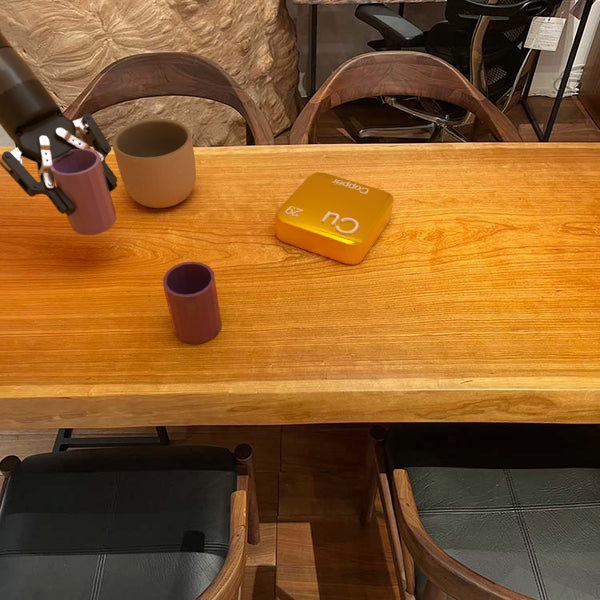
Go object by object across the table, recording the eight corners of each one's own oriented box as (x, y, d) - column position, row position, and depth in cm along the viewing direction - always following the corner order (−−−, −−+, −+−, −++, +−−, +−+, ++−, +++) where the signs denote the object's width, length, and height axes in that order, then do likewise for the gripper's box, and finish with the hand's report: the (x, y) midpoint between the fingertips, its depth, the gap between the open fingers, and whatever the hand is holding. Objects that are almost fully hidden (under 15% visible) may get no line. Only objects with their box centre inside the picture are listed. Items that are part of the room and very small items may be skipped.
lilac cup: (78, 241, 81) (57, 180, 74) (65, 216, 85) (43, 156, 78) (123, 225, 83) (106, 165, 76) (107, 202, 87) (90, 143, 80)
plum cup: (185, 351, 77) (175, 303, 70) (166, 320, 80) (155, 273, 74) (229, 332, 79) (223, 284, 73) (208, 303, 83) (201, 255, 76)
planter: (149, 168, 107) (137, 112, 99) (211, 181, 104) (204, 125, 96) (112, 207, 98) (96, 150, 91) (178, 222, 95) (167, 165, 88)
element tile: (394, 215, 97) (398, 191, 94) (357, 269, 88) (359, 244, 84) (314, 190, 102) (314, 166, 98) (270, 238, 93) (269, 214, 89)
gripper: (-35, 102, 70) (55, 218, 73) (66, 61, 78) (143, 167, 81) (-40, 128, 76) (43, 234, 79) (54, 87, 84) (125, 186, 87)
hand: (93, 200), depth 80 cm, fingers closed on lilac cup, 6 cm apart
